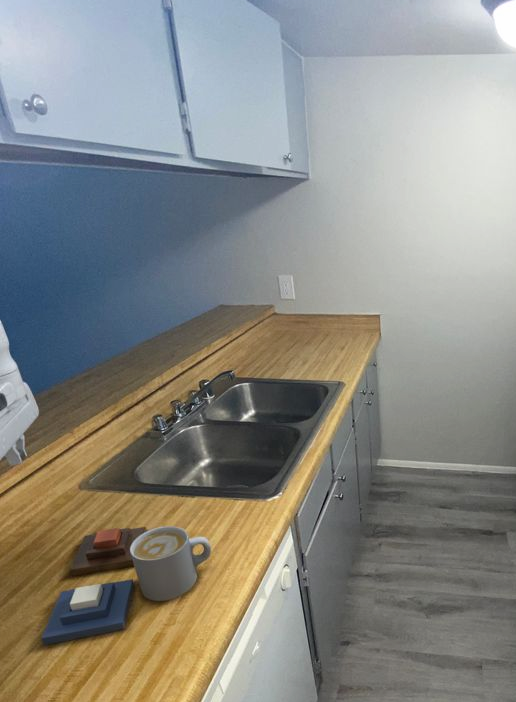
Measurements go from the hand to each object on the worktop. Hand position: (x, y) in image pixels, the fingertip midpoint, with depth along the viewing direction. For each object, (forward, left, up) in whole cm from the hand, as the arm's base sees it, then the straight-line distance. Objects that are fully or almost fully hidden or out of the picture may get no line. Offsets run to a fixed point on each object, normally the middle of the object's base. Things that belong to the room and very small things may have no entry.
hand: (18, 461), depth 84 cm
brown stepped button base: (+9, +2, -25) cm, 26 cm away
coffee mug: (+23, -10, -25) cm, 36 cm away
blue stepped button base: (+9, -15, -25) cm, 30 cm away
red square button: (+9, +2, -22) cm, 24 cm away
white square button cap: (+9, -15, -22) cm, 28 cm away
